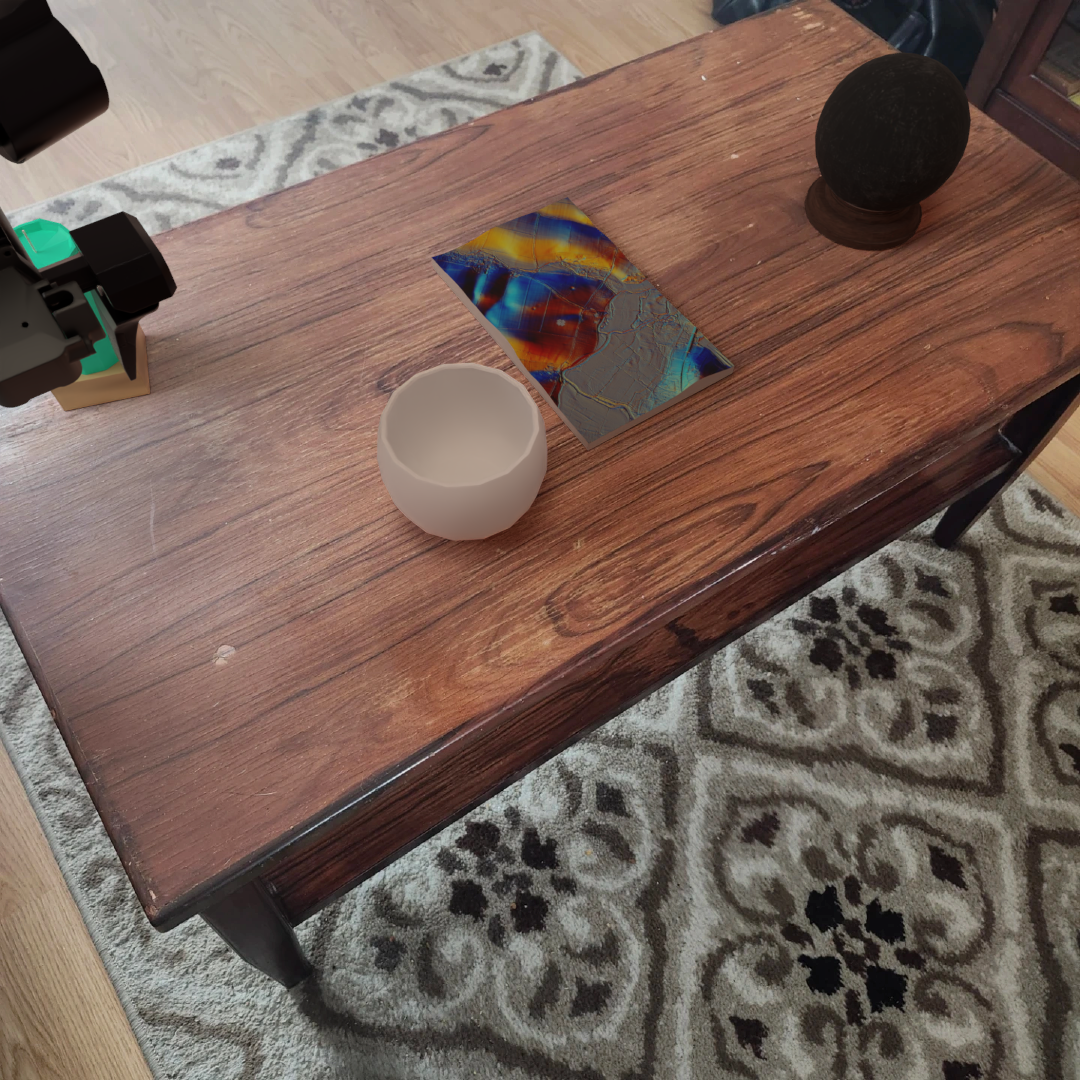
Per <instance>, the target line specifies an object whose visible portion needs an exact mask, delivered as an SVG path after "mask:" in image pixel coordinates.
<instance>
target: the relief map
mask: <svg viewBox="0 0 1080 1080" xmlns="http://www.w3.org/2000/svg"><path fill="white" fill-rule="evenodd" d="M430 260H431V267H432V269H433V270H434V271H435V273H436V274H437V275H438V276H439V277H440V279H442V281H443V282H444V283H445V284H446V286H447V287H448V288H449V289H450V290H451V291H452V293H453V294H454V295H455V296H456V297H457V298H458V299H459V301H460V302H461V303H462V304H463V306H465V308H466V309H467V310H468V311H469V313H470V314H471V315H472V316H473V317H474V319H475V320H476V321H477V322H478V323H479V324H480V325H481V326H482V328H483V329H484V331H485V332H487V334H488V335H489V336H490V337H491V339H492V340H493V341H494V342H495V343H496V344H497V345H498V347H499V348H500V349H501V350H502V351H503V352H504V354H505V355H506V356H507V357H508V359H509V360H510V361H511V362H512V363H513V364H514V366H515V367H516V369H518V370H519V372H520V373H521V375H523V376H524V377H525V378H526V380H527V381H528V382H529V383H530V384H531V386H532V387H533V388H534V389H535V390H536V391H537V392H538V394H539V395H540V396H541V397H542V398H543V400H544V401H545V402H546V403H547V404H548V405H549V407H550V408H551V409H552V410H553V412H555V414H556V415H557V416H558V417H559V418H560V419H561V421H562V422H563V423H564V424H565V425H566V427H567V428H568V429H569V430H570V432H571V433H572V434H573V435H574V436H575V437H576V439H577V440H578V441H579V442H580V443H581V445H583V447H584V448H585V449H586V450H587V451H590V450H592V449H594V448H596V447H598V446H599V445H601V444H603V443H605V442H607V441H609V440H611V439H612V438H615V437H617V436H618V435H620V434H622V433H624V432H625V431H627V430H629V429H631V428H633V427H634V426H636V425H639V424H641V423H642V422H644V421H646V420H648V419H650V418H652V417H654V416H656V415H657V414H659V413H661V412H663V411H665V410H666V409H669V408H671V407H672V406H674V405H676V404H678V403H680V402H681V401H683V400H685V399H687V398H690V397H691V396H693V395H695V394H696V393H699V392H701V391H702V390H704V389H706V388H708V387H710V386H711V385H714V384H715V383H717V382H720V381H721V380H722V379H724V378H726V377H729V376H730V375H731V374H733V373H734V369H735V365H734V363H733V362H732V361H731V360H730V359H729V358H728V357H726V356H725V354H723V353H722V352H721V350H719V349H718V348H717V346H715V345H714V344H713V343H712V342H711V341H710V340H709V339H708V338H707V337H706V336H705V335H704V334H703V333H702V332H701V331H700V330H699V328H698V327H697V326H695V325H694V324H693V323H692V322H691V321H690V320H689V319H688V318H687V317H686V316H685V315H684V314H683V313H681V311H679V310H678V308H676V307H675V306H674V305H673V304H672V303H671V302H670V300H668V299H667V298H666V297H665V296H664V295H663V294H662V293H661V292H660V290H658V289H657V287H655V286H654V285H653V284H652V283H651V282H650V281H649V280H648V279H647V278H646V276H645V275H644V273H643V272H641V270H640V269H638V268H637V266H635V265H634V264H633V262H631V261H630V260H629V258H628V257H626V255H625V254H624V253H623V252H622V251H621V250H620V248H619V247H618V246H617V245H616V244H615V242H614V241H612V240H611V239H610V238H609V237H608V236H607V235H606V234H605V233H603V232H602V231H601V230H599V229H598V228H597V226H596V225H595V224H594V223H593V222H592V220H591V219H590V218H589V217H588V216H587V215H586V213H584V212H583V210H582V209H580V208H579V207H578V206H577V204H575V203H574V201H572V200H571V199H570V198H569V197H568V196H566V197H564V198H562V199H559V200H557V201H555V202H553V203H550V204H548V205H546V206H544V207H542V208H540V209H538V210H536V211H533V212H530V213H526V214H524V215H521V216H518V217H516V218H513V219H511V220H508V221H505V222H503V223H500V224H498V225H496V226H494V227H492V228H489V229H488V230H486V231H484V232H483V233H481V234H480V235H478V236H477V237H475V238H474V239H471V240H470V241H468V242H466V243H463V244H462V245H460V246H458V247H456V248H454V249H452V250H451V249H450V251H447V252H444V253H442V254H438V255H434V256H431V259H430Z"/></svg>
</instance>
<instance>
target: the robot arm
mask: <svg viewBox="0 0 1080 1080" xmlns="http://www.w3.org/2000/svg"><path fill="white" fill-rule="evenodd" d="M109 108H110V96H109V90H108V87H107V84H106V81H105V78H104V76H103V74H102V72H101V70H100V68H99V66H97V64H95V63H94V62H92V61H91V59H90V57H89V56H88V54H87V52H86V51H85V49H84V48H83V46H81V44H80V43H79V41H78V40H77V39H76V37H75V36H74V35H73V34H72V33H71V31H70V30H69V29H67V27H66V26H64V24H62V22H61V21H60V20H59V19H58V18H56V17H55V16H54V14H53V12H52V9H51V7H50V5H49V3H48V0H0V156H1V157H2V158H4V159H5V160H7V161H8V162H11V163H13V164H16V165H22V164H24V163H26V162H28V161H29V160H31V159H32V158H34V157H35V156H37V155H39V154H40V153H42V152H44V151H45V150H47V149H49V148H50V147H52V146H53V145H55V144H56V143H58V142H60V141H62V139H65V138H66V137H68V136H70V134H73V133H75V132H76V131H78V130H79V129H80V128H82V127H83V126H85V125H87V124H89V123H90V122H92V121H94V120H95V119H97V118H99V116H103V114H105V113H106V112H107V111H108V109H109ZM13 228H14V227H13V226H12V224H11V222H10V221H9V219H8V218H7V216H6V214H5V212H4V211H3V209H2V207H1V206H0V407H2V408H6V409H7V408H8V409H15V408H18V407H21V406H23V405H26V404H28V403H29V402H30V400H32V399H35V398H37V397H39V396H42V395H44V394H47V393H49V392H51V390H54V389H56V388H58V387H65V386H67V385H70V384H72V383H74V382H75V381H76V380H78V378H79V377H80V376H81V373H82V364H81V362H80V360H81V359H84V358H86V357H88V356H91V355H93V354H96V353H97V352H96V351H95V349H94V347H93V345H94V343H95V342H97V341H99V340H101V339H104V338H105V337H106V334H105V332H104V330H103V328H102V326H101V324H100V322H99V320H98V319H97V317H96V315H95V313H94V311H93V310H92V308H91V306H90V304H89V302H88V300H87V299H86V297H85V295H84V293H86V292H89V291H90V292H91V294H92V297H93V299H94V302H95V304H96V307H97V309H98V312H99V315H100V317H101V320H102V322H103V325H104V327H105V330H106V332H107V335H108V337H109V340H110V342H111V345H112V348H113V350H114V352H115V354H116V356H117V358H118V360H119V362H120V363H121V365H122V367H123V369H124V371H125V372H126V374H127V376H128V377H129V379H130V381H133V380H135V379H136V378H137V370H136V336H137V330H138V324H140V321H141V320H142V319H144V318H145V317H146V316H148V315H150V314H153V313H155V312H157V311H158V310H159V307H160V302H163V301H166V300H168V299H170V298H173V297H174V295H175V293H176V291H177V290H178V286H177V284H176V283H177V282H176V281H175V279H174V276H173V274H172V272H171V269H170V267H169V264H168V263H167V261H166V260H165V258H164V256H163V254H162V252H161V251H160V250H159V248H158V246H157V245H156V244H155V242H154V240H153V239H152V238H151V236H150V235H149V233H148V232H147V230H146V229H145V227H144V225H142V223H141V222H140V220H139V219H138V218H137V216H134V215H132V214H130V213H128V212H126V211H124V210H122V211H120V212H116V213H113V214H111V215H109V216H106V217H103V218H101V219H98V220H95V221H93V222H90V223H88V224H84V225H82V226H79V227H77V228H74V229H72V230H70V231H69V234H70V237H71V239H72V241H73V242H74V244H75V246H76V248H77V250H78V253H77V254H76V255H73V256H71V257H68V258H66V259H63V260H60V261H58V262H55V263H53V264H50V265H48V266H45V267H42V268H40V269H37V268H36V267H35V265H34V263H33V262H32V260H31V258H30V257H29V255H28V253H27V252H26V250H25V248H24V246H23V245H22V243H21V241H20V240H19V238H18V236H17V234H16V233H15V231H14V229H13ZM52 313H53V314H52Z"/></svg>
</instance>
